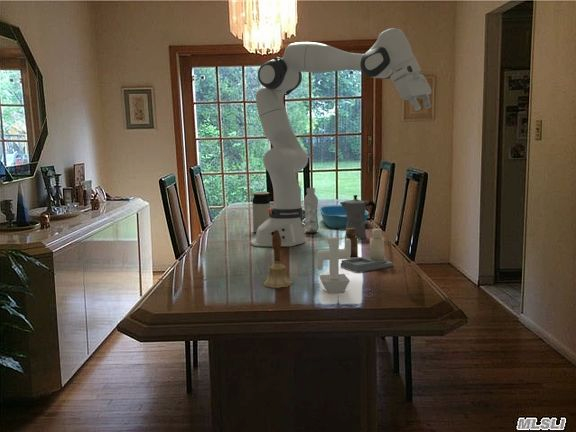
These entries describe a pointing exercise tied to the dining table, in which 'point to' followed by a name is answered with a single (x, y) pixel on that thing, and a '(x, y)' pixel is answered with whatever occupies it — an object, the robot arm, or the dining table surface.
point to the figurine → (334, 265)
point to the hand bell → (277, 266)
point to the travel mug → (260, 209)
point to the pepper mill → (352, 242)
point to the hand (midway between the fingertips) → (423, 108)
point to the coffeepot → (357, 215)
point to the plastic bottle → (311, 211)
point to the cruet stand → (375, 256)
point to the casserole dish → (337, 216)
